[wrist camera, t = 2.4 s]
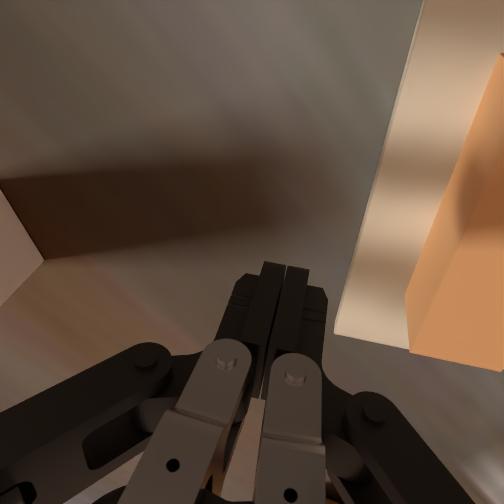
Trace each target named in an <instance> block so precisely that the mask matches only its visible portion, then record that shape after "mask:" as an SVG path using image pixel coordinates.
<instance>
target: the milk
mask: <svg viewBox="0 0 504 504" xmlns="http://www.w3.org/2000/svg"><path fill="white" fill-rule="evenodd" d="M43 261H44V259H43V257H42V256H41V254H40V253H39V251H38V249H37V248H36V246H35V244H34V243H33V241H32V240H31V238H30V236H29V235H28V233H27V232H26V230H25V228H24V227H23V225H22V223H21V222H20V220H19V219H18V217H17V215H16V214H15V212H14V211H13V209H12V207H11V206H10V204H9V202H8V201H7V199H6V198H5V196H4V194H3V193H2V191H1V190H0V306H1V305H2V304H3V303H4V302H5V301H6V300H7V299H8V298H9V297H10V296H11V295H12V293H13V292H14V291H15V290H16V289H17V288H18V287H19V286H20V285H21V284H22V283H23V282H24V281H25V280H26V279H27V278H28V277H29V276H30V275H31V274H32V273H33V272H34V271H35V270H36V268H37V267H38V266H39V265H40V264H41V263H42V262H43Z"/></svg>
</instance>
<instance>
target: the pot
mask: <svg viewBox="0 0 504 504" xmlns="http://www.w3.org/2000/svg"><path fill="white" fill-rule="evenodd" d="M325 504H340V503H338V502H335V501H332V500H330V499H327V498H325Z"/></svg>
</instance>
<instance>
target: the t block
mask: <svg viewBox="0 0 504 504" xmlns="http://www.w3.org/2000/svg"><path fill="white" fill-rule="evenodd" d="M405 304H406V315H407V327H408V338H409V350H410V353H414V354H419V355H424V356H429V357H433V358H438V359H443V360H448V361H452V362H457V363H462V364H466V365H471V366H476V367H481V368H485V369H490V370H495V371H499V372H501V371H502V369H503V368H504V54H499V56H498V59H497V61H496V64H495V66H494V69H493V71H492V74H491V76H490V79H489V81H488V84H487V87H486V89H485V92H484V94H483V97H482V99H481V102H480V104H479V107H478V109H477V112H476V115H475V117H474V120H473V122H472V125H471V127H470V130H469V132H468V135H467V137H466V140H465V142H464V145H463V148H462V150H461V153H460V155H459V158H458V160H457V163H456V165H455V168H454V170H453V173H452V176H451V178H450V181H449V183H448V186H447V188H446V191H445V193H444V196H443V198H442V201H441V204H440V206H439V209H438V211H437V214H436V216H435V219H434V221H433V224H432V226H431V229H430V231H429V234H428V237H427V239H426V242H425V244H424V247H423V249H422V252H421V254H420V257H419V259H418V262H417V265H416V267H415V270H414V272H413V275H412V277H411V280H410V282H409V285H408V287H407V290H406V292H405Z"/></svg>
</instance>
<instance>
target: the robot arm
mask: <svg viewBox="0 0 504 504" xmlns="http://www.w3.org/2000/svg"><path fill="white" fill-rule="evenodd" d="M285 270H286V265H282V264H277V263H272V262H267V261H264V264H263V267H262V270H261V273H260V276H258V275H253V274H248V273H246V274H244V275H243V276H242V277H241V278H240V279H239V280H238V281H237V282H236V283H235V286H234V289H233V291H232V295H231V297H230V299H229V302H228V305H227V307H226V310H225V313H224V315H223V318H222V321H221V323H220V326H219V329H218V331H217V334H216V337H215V339H214V341H213V342H211V343H210V344H208V345H207V346H206V347H205V349H204V350H203V351H201V352H198V353H195V354H190V355H177V356H171V354H170V352H169V351H168V349H166V348H165V347H164V346H162V345H160V344H157V343H152V342H146V343H140V344H137V345H135V346H132V347H130V348H128V349H126V350H124V351H122V352H120V353H118V354H116V355H114V356H112V357H110V358H108V359H106V360H104V361H102V362H100V363H98V364H96V365H94V366H92V367H90V368H88V369H86V370H84V371H82V372H81V373H79V374H77V375H75V376H73V377H71V378H69V379H67V380H65V381H63V382H61V383H59V384H57V385H55V386H53V387H51V388H49V389H47V390H45V391H43V392H41V393H39V394H37V395H35V396H33V397H31V398H29V399H27V400H25V401H23V402H21V403H19V404H17V405H15V406H13V407H11V408H9V409H7V410H5V411H3V412H1V413H0V504H63V503H65V502H66V501H68V500H69V499H71V498H72V497H74V496H75V495H77V494H78V493H80V492H81V491H83V490H84V489H86V488H87V487H89V486H91V485H92V484H94V483H95V482H97V481H98V480H100V479H101V478H103V477H104V476H106V475H107V474H109V473H110V472H112V471H114V470H115V469H117V468H118V467H120V466H121V465H123V464H124V463H126V462H127V461H129V460H130V459H132V458H133V457H135V456H136V455H138V454H140V453H141V452H143V451H144V450H145V451H144V453H143V455H142V457H141V459H140V461H139V462H138V464H137V466H136V468H135V470H134V472H133V474H132V476H131V478H130V480H129V482H128V484H127V485H126V486H123V487H120V488H118V489H115V490H113V491H111V492H109V493H107V494H106V495H104V496H102V497H101V498H99V499H98V500H96V501H95V502H94V503H92V504H325V468H326V469H327V473H328V476H329V478H330V480H331V481H332V483H333V485H334V486H335V488H336V490H337V491H338V493H339V495H340V496H341V498H342V500H343V501H344V503H345V504H475V503H474V502H473V500H472V499H471V498H470V497H469V495H468V494H467V493H466V492H465V491H464V489H463V488H462V487H461V486H460V484H459V483H458V482H457V481H456V480H455V478H454V477H453V476H452V475H451V473H450V472H449V471H448V470H447V468H446V467H445V466H444V465H443V464H442V462H441V461H440V460H439V459H438V457H437V456H436V455H435V454H434V453H433V451H432V450H431V449H430V448H429V446H428V445H427V444H426V443H425V442H424V440H423V439H422V438H421V437H420V435H419V434H418V433H417V432H416V431H415V429H414V428H413V427H412V426H411V424H410V423H409V422H408V421H407V420H406V418H405V417H404V416H403V415H402V413H401V412H400V411H399V410H398V409H397V407H396V406H395V405H394V404H393V403H392V402H391V401H390V400H389V399H387V398H386V397H384V396H382V395H380V394H378V393H375V392H367V391H365V392H359V393H357V394H355V395H351V394H349V393H347V392H345V391H344V390H342V389H340V388H338V387H337V386H335V385H334V384H333V383H332V382H331V381H330V380H329V379H328V378H327V377H326V375H325V373H324V371H323V369H322V352H323V342H324V333H325V323H326V313H327V305H328V299H327V297H326V294H325V292H324V290H323V288H320V287H314V286H309V285H307V282H308V276H309V269H304V268H299V267H293V266H288V267H287V271H286V275H285ZM284 277H285V279H284ZM283 283H284V284H283ZM263 377H264V380H263ZM262 381H263V387H262V394H261V399H263V400H266V402H265V409H264V415H263V421H262V427H261V435H260V443H259V451H258V458H257V466H256V474H255V482H254V489H253V496H252V501H244V502H230V501H226V500H224V499H223V498H221V497H220V495H221V491H222V487H223V483H224V479H225V476H226V473H227V470H228V467H229V464H230V461H231V458H232V456H233V453H234V450H235V447H236V444H237V441H238V438H239V435H240V432H241V429H242V426H243V423H244V420H245V416H246V414H247V411H248V408H249V404H250V400H251V397H253V398H259V394H260V390H261V386H262Z"/></svg>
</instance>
